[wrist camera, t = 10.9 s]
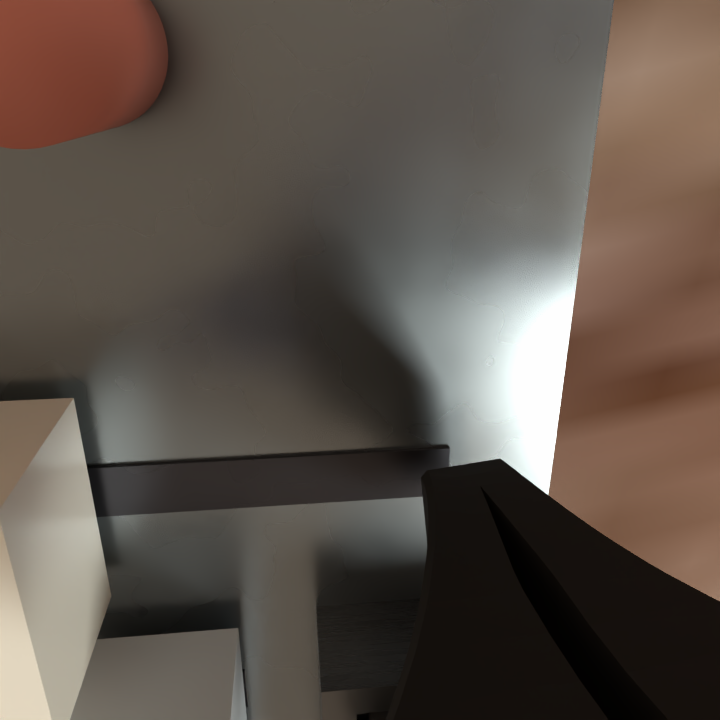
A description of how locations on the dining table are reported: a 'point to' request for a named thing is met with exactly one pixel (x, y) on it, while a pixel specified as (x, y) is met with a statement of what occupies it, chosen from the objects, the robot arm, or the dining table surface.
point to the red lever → (76, 67)
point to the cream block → (46, 561)
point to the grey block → (164, 678)
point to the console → (307, 311)
